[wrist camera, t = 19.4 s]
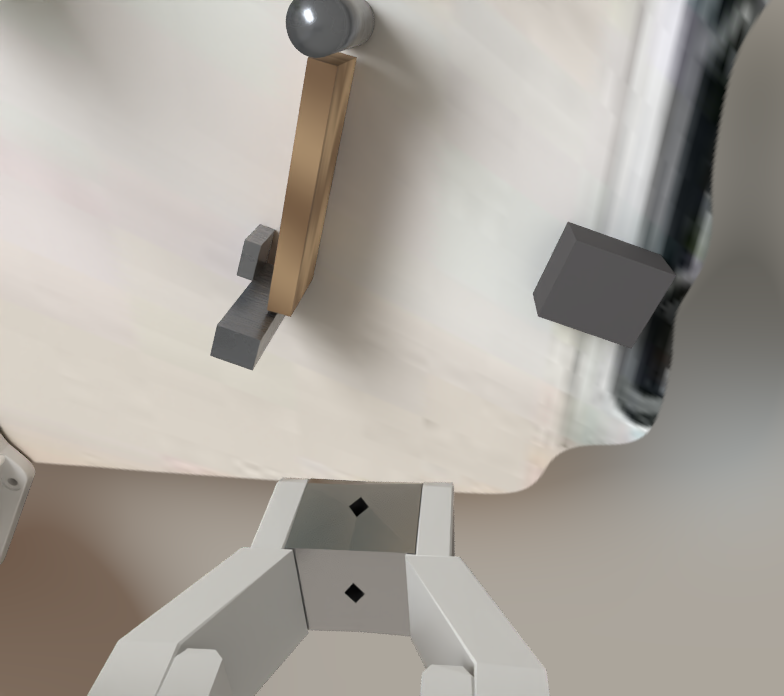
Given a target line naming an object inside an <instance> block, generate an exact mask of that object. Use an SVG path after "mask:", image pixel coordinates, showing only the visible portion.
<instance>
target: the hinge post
mask: <svg viewBox="0 0 784 696" xmlns="http://www.w3.org/2000/svg"><path fill="white" fill-rule="evenodd" d="M373 28H374V15H373V11H372V9H371V7H370V5H369V4H368V3H367V2H366V1H365V0H293V1H292V3H291V4H290V6H289V8H288V11H287V15H286V29H287V33H288V36H289V38H290V40H291V42H292V44H293V45H294V47H295V48H296V49H297V50H298V51H300V52H301V53H302V54H304V55H306V56H309V57H313V58H321V57H325V56H328V55H331V54H334V53H337V52H340V51H343V50H346V49H349V48H352V47H355V46H358V45H361V44H363V43H364V42H365V41H367V40H368V38H369V37H370V36H371V34H372V31H373Z"/></svg>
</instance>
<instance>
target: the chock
mask: <svg viewBox="0 0 784 696" xmlns="http://www.w3.org/2000/svg"><path fill="white" fill-rule="evenodd" d="M675 277H676V274H675V273H674V272H673V271H672V269H671V268H670V267H669V265H668V264H667V263H666V262H665V260H664V259H663V258H662V256H661V255H660V254H657V253H654V252H651V251H649V250H646V249H643V248H640V247H637V246H634V245H632V244H629V243H626V242H623V241H620V240H618V239H615V238H612V237H609V236H606V235H604V234H601V233H598V232H595V231H592V230H590V229H587V228H584V227H581V226H578V225H575V224H573V223H570V222H568V223H567V225H566V227H565V229H564V231H563V233H562V235H561V237H560V239H559V241H558V243H557V245H556V247H555V249H554V252H553V254H552V256H551V258H550V260H549V262H548V264H547V266H546V268H545V270H544V272H543V274H542V276H541V278H540V280H539V282H538V284H537V286H536V288H535V290H534V292H533V296H534V301H535V305H536V310H537V314H538V316H539V317H542V318H545V319H548V320H550V321H553V322H556V323H559V324H562V325H565V326H568V327H571V328H574V329H576V330H579V331H582V332H585V333H588V334H591V335H594V336H597V337H600V338H602V339H605V340H608V341H611V342H614V343H617V344H620V345H623V346H626V347H629V348H632V347H633V345H634V344H635V342H636V340H637V339H638V337H639V335H640V334H641V332H642V331H643V329H644V327H645V326H646V324H647V322H648V321H649V319H650V318H651V316H652V314H653V313H654V311H655V309H656V308H657V306H658V305H659V303H660V301H661V300H662V298H663V296H664V295H665V293H666V292H667V290H668V288H669V287H670V285H671V283H672V282H673V280H674V279H675Z"/></svg>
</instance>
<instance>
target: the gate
mask: <svg viewBox="0 0 784 696" xmlns="http://www.w3.org/2000/svg"><path fill="white" fill-rule="evenodd" d="M356 59H357V57H353V56H350V55H346V54H343V53H339V52H337V53H334V54H331V55H328V56H325V57H321V58H313V57H308V60H307V66H306V72H305V78H304V84H303V90H302V97H301V103H300V109H299V115H298V121H297V127H296V134H295V140H294V146H293V152H292V158H291V165H290V171H289V177H288V183H287V189H286V195H285V202H284V208H283V214H282V220H281V226H280V232H279V239H278V245H277V251H276V257H275V263H274V269H273V276H272V282H271V288H270V294H269V300H268V306H267V310H268V311H272V312H276V313H279V314H283V315H286V316H290V317H291V315H292V314H293V312H294V310H295V308H296V307H297V305H298V303H299V302H300V300H301V298H302V296H303V295H304V293H305V291H306V289H307V288H308V286H309V284H310V282H311V281H312V279H313V275H314V270H315V265H316V260H317V255H318V249H319V244H320V239H321V234H322V229H323V224H324V219H325V214H326V209H327V204H328V199H329V194H330V189H331V184H332V179H333V174H334V169H335V164H336V159H337V154H338V149H339V144H340V139H341V134H342V129H343V124H344V119H345V114H346V109H347V104H348V99H349V94H350V89H351V84H352V79H353V74H354V69H355V64H356Z"/></svg>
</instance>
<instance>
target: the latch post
mask: <svg viewBox="0 0 784 696" xmlns="http://www.w3.org/2000/svg"><path fill="white" fill-rule="evenodd" d="M274 232H275V230H274V229H271V228H269V227H266V226H263V225H259V226H258V227H257V228H256V229H255V230H254V231H253V232H252V233H251V234H250V235H249V236H248V237H247V238H246V239H245V241H244V246H243V250H242V254H241V259H240V263H239V267H238V272H237V275H238V276H240V277H243V278H246V279H249V280H252V282H251V283H250V284H249V286H248V287H247V288H246V289H245V291H244V292H243V293H242V294H241V296H240V297H239V298H238V299H237V301H236V302H235V303H234V305H233V306H232V307H231V308H230V310H229V311H228V312H227V313H226V315H225V316H224V317H223V318H222V320H221V321H220V322H219V323H218V325H217V328H216V332H215V337H214V341H213V346H212V350H211V355H210V356H213V357H216V358H219V359H221V360H224V361H227V362H230V363H233V364H236V365H239V366H241V367H244V368H247V369H250V370H253V369H254V367H255V365H256V364H257V362H258V360H259V359H260V357H261V355H262V354H263V352H264V350H265V349H266V347H267V345H268V344H269V342H270V340H271V339H272V337H273V335H274V334H275V332H276V330H277V329H278V327H279V325H280V324H281V322H282V320H283V318H284V317H285V315H283V314H279V313H276V312H272V311H268V310H267V306H268V300H269V294H270V288H271V282H272V276H273V269H274V265H271V264H268V263H267V259H268V255H269V251H270V247H271V243H272V239H273V236H274Z"/></svg>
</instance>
